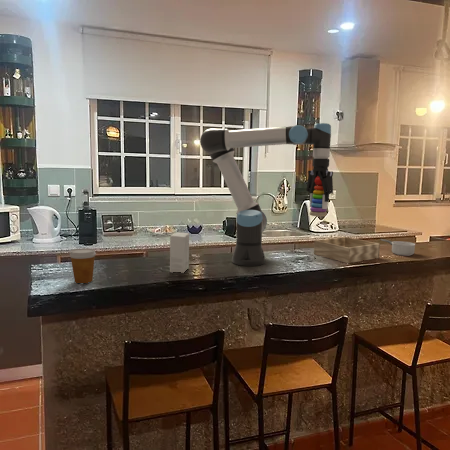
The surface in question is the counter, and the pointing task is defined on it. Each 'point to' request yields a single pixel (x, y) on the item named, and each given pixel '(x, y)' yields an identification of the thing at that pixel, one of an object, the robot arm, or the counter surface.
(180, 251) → the skincare box
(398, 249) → the saucepan
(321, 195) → the stacking toy
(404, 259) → the counter surface
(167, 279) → the counter surface
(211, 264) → the counter surface
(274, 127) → the robot arm
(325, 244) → the open-top box
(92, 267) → the disposable coffee cup
